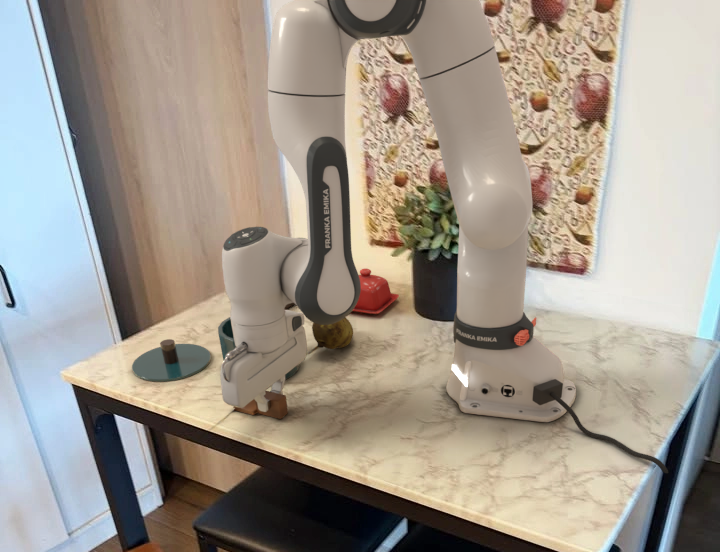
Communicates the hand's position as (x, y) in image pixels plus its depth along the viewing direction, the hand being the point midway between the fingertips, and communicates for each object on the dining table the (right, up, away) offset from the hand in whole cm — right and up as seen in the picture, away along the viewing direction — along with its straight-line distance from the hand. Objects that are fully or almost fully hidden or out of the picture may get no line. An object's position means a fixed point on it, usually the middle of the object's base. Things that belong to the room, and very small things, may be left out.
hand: (271, 404), depth 131 cm
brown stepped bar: (-2, -1, +2) cm, 3 cm away
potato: (+11, +14, +21) cm, 27 cm away
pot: (-3, +9, +15) cm, 18 cm away
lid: (-22, +10, +18) cm, 30 cm away
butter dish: (+17, +25, +37) cm, 48 cm away
